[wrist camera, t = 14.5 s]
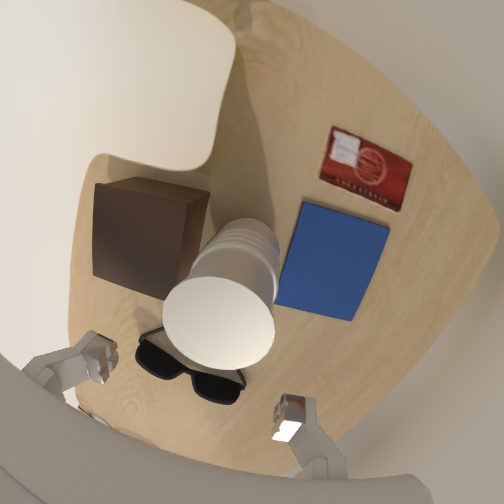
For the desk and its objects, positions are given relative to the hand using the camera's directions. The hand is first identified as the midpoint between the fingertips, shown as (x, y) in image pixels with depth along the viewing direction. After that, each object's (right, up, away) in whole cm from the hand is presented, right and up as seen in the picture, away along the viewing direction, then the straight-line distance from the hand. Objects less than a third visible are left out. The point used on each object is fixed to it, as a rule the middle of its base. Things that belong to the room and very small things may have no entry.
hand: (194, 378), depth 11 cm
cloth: (+11, +4, +18) cm, 21 cm away
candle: (+2, +7, +18) cm, 19 cm away
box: (-7, +9, +18) cm, 21 cm away
